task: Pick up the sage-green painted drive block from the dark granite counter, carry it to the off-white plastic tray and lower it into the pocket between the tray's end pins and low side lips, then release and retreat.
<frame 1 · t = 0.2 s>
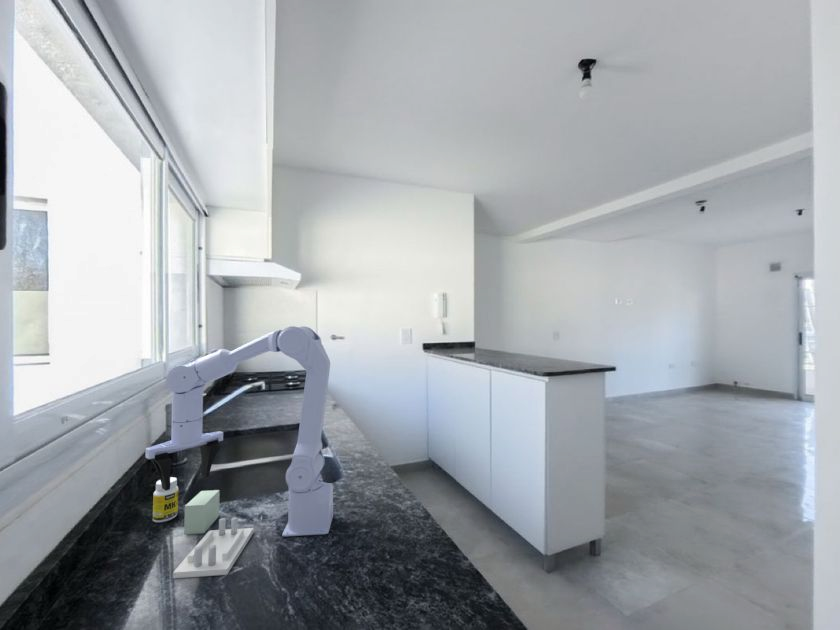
hand: (186, 482, 78), 10 cm above the worktop, fingers open, 7 cm apart
supplement bottle: (165, 518, 82), on the worktop
tray: (217, 553, 69), on the worktop
drive block: (202, 525, 79), on the worktop
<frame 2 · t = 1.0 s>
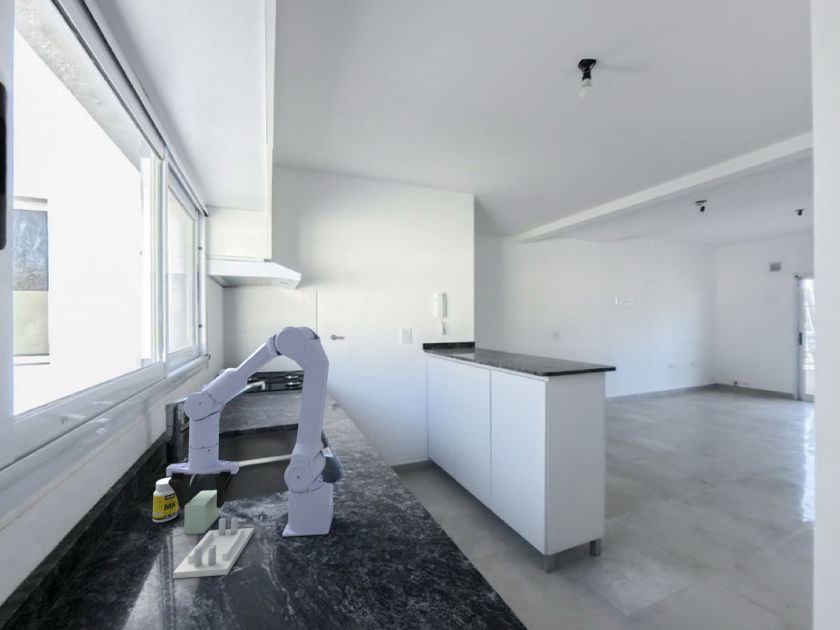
hand: (202, 506, 79), 4 cm above the worktop, fingers open, 7 cm apart
nothing on the worktop moved.
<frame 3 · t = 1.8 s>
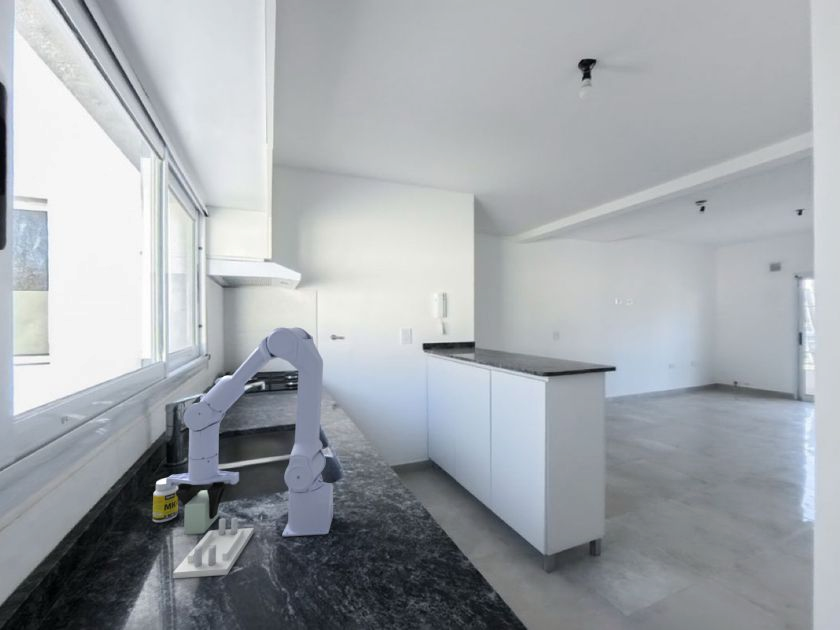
hand: (202, 517, 79), 2 cm above the worktop, fingers closed on drive block, 4 cm apart
drive block: (202, 524, 79), on the worktop, touching gripper
everything else where it was.
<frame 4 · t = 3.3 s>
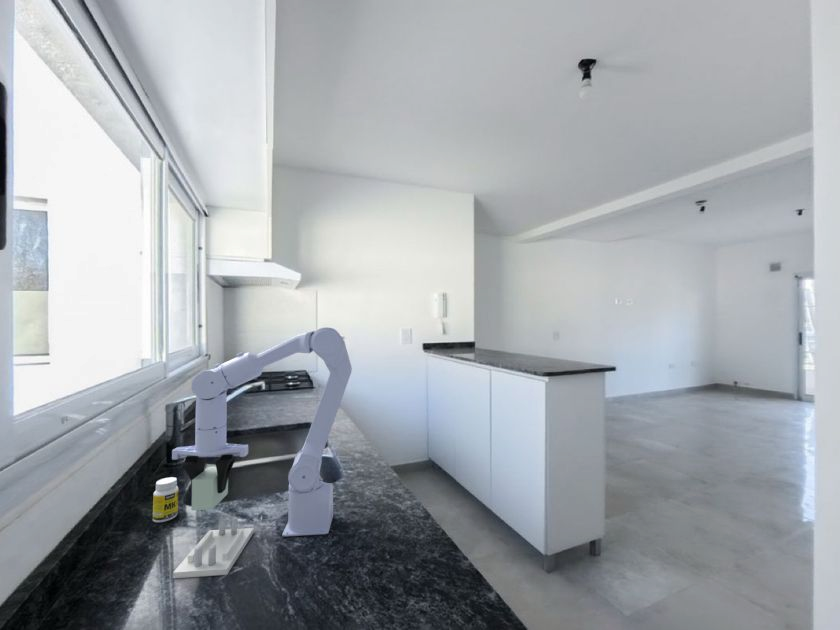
hand: (210, 491, 75), 9 cm above the worktop, fingers closed on drive block, 4 cm apart
drive block: (210, 501, 75), point 7 cm above the worktop, touching gripper
everything else where it was.
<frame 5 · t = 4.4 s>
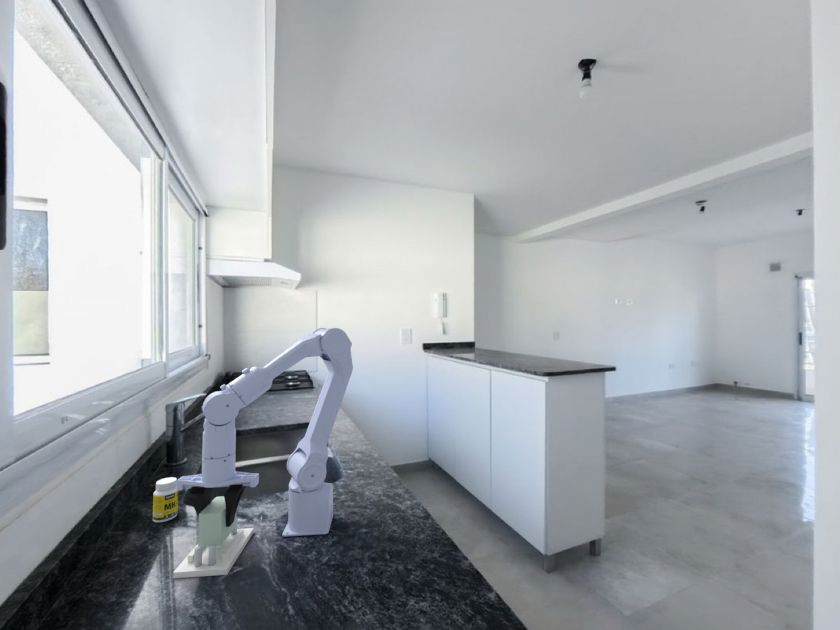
hand: (217, 524, 69), 5 cm above the worktop, fingers closed on drive block, 4 cm apart
drive block: (218, 535, 69), point 3 cm above the worktop, touching gripper
everything else where it was.
when the fingers open (4 cm above the worktop, at t = 5.0 s): drive block drops 1 cm, resting on tray.
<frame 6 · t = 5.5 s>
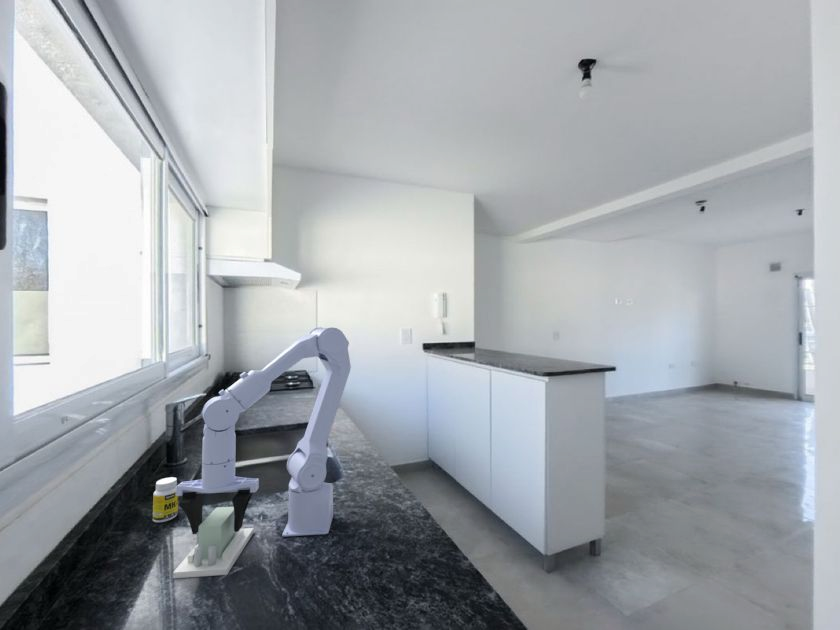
hand: (217, 530, 69), 4 cm above the worktop, fingers open, 7 cm apart
drive block: (218, 547, 69), point 1 cm above the worktop, touching tray
everything else where it was.
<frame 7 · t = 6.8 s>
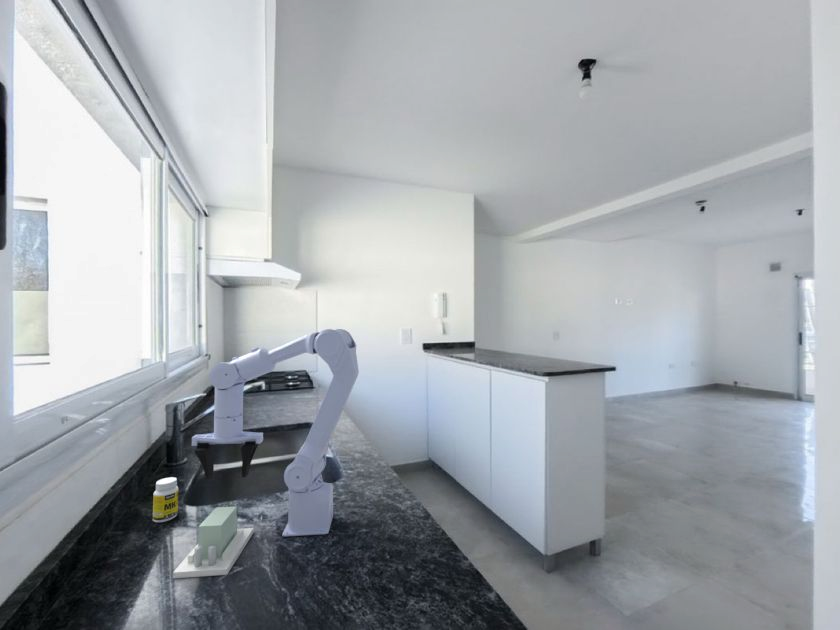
hand: (227, 476, 80), 10 cm above the worktop, fingers open, 7 cm apart
nothing on the worktop moved.
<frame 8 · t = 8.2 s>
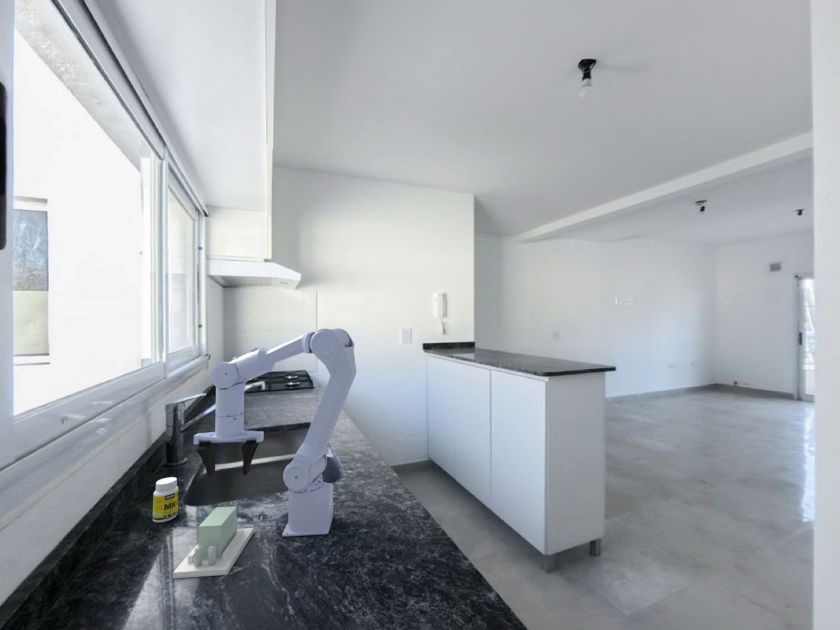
hand: (228, 474, 81), 10 cm above the worktop, fingers open, 7 cm apart
nothing on the worktop moved.
at the end: drive block 0.2 cm off-centre on the tray, point 1.0 cm above the tray's base; drive block tilted 0°; the gripper is holding nothing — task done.
